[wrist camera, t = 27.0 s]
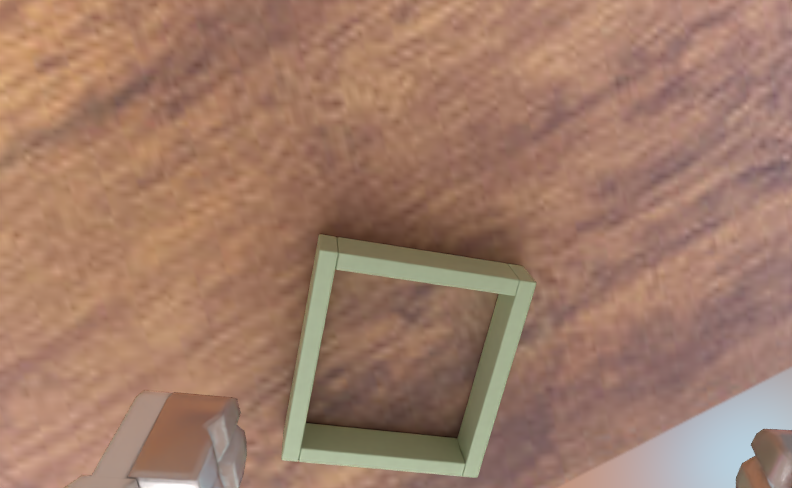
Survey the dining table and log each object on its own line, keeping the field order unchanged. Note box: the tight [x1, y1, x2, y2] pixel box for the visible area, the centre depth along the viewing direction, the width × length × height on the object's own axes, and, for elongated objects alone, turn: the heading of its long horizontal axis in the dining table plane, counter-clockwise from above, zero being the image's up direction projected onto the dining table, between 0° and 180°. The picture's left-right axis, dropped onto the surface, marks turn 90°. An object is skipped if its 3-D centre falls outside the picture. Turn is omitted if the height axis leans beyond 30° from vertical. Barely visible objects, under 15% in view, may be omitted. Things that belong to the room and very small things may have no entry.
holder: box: [281, 234, 536, 478], centre depth 29 cm, size 10×11×2 cm
